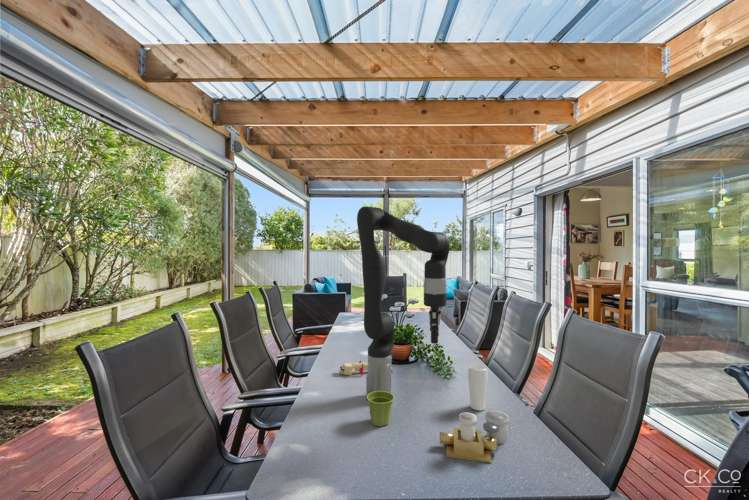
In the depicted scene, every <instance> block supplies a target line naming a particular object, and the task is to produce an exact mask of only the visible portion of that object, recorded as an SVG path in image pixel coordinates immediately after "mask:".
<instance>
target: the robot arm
mask: <svg viewBox="0 0 749 500" xmlns="http://www.w3.org/2000/svg"><path fill="white" fill-rule="evenodd" d="M356 225H357V230H358V238H359V242H360V251H361V254H360V255H361V269H362V280H363V282H362V283H363V299H364V300H363V301H364V308H363V311H364V312H363V328H364V332H365V334H366V336H367V337H368V338H369V339H371V340H372V341H371V343H370V344H369V346H367V363H368V370H367V374H366V375H365V376H366V377H365V378H366V381H365V382H366V385H365V387H366V390H365V392H366V393H365V394H366V396H365V398H366V401H368V400H367V395H368V394H369V393H371V392H374V391H386V392H389V393H391V394H392V373H391V367H392V351H393V348H394V347H393V346H394V339H395V338H394V335H395V323H394V320H393V317H392V316H391V314H389V313H388V312H382V297H383V295H384V290H385V288H386V283H387V267H386V265H387V264H386V261H385V259H384V257H383V255H382V253H381V251H380V250H379V248H378V245H377V243H376V239H375V234H374V231H384V232H389V233H392V234H393V235H394V236H395V237H396V238H397V239H400V240H401V241H403V242H405V243H407V244H411V245H414V247H416V248H417V249H418V250H421V251H423V252H424V253H428V254H431V256H430V259H429V260H426V261H425V262H424V269H423V270H424V275H423V277H424V281H423V305H424V306H426V307H429V308H430V310H428V319H429V320H428V323H429V332H430V343H431V344H435V345H436V344H438V343H439V336H440V333H439V331H440V329H439V328H440V325H441V317H442V310H440V308H442V307H446V306H447V280H446V279H447V278H446V277H447V274H446V273H447V272H446V271H447V269H446V265H447V261H448V258H449V253H450V248H451V244H450V239H449V236H448V235H447V234H446V233H444V232H439V231H430V230H428V229H427V230H426V229H425V227H422V226H420V225H419V224H415V223H412V222H409V221H406V220H404V219H401V218H398V217H396V216H394V215H393V214H390V213H389V212H387V211H386V210H384V209H382V208H380V207H376V206H374V207H373V206H362V207H361V208H359V210H358V211H357V216H356Z"/></svg>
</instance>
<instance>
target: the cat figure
mask: <svg viewBox="0 0 749 500" xmlns="http://www.w3.org/2000/svg"><path fill="white" fill-rule="evenodd" d="M339 369H340V370H338V372H339V374H340V375H344V376H352V374H353V373H355V372H359V375H360V376H361V377H362V376H363V375H364V371H368V362H362V360H359V362H355V363H350V362H345V363H343V365H340V367H339ZM391 374H393V367H392V366H391Z"/></svg>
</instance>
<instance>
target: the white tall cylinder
mask: <svg viewBox="0 0 749 500" xmlns="http://www.w3.org/2000/svg"><path fill="white" fill-rule="evenodd" d="M467 367H468V368H467V370H468V371H467V372H468V373H467V378H468V388H469V389H468V390H469V391H468V392H469V404H470V405H469V406H470V408H471V409H473V410H475V411H484V410H485V409H486V399H487V387H488V368H487V366H486V365H483V364H475V363H474V364H470V365H469V366H467Z"/></svg>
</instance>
